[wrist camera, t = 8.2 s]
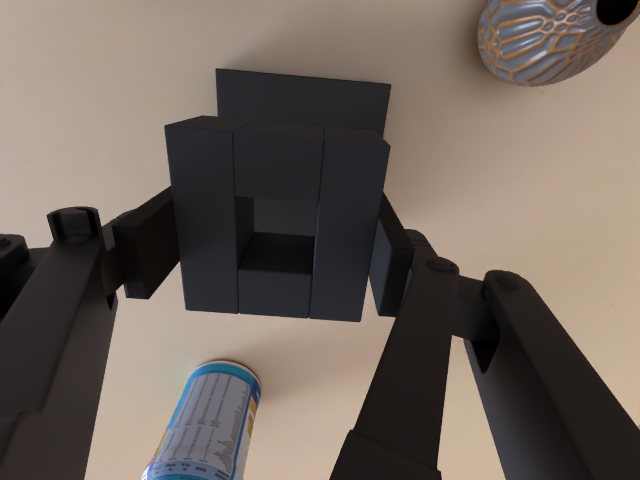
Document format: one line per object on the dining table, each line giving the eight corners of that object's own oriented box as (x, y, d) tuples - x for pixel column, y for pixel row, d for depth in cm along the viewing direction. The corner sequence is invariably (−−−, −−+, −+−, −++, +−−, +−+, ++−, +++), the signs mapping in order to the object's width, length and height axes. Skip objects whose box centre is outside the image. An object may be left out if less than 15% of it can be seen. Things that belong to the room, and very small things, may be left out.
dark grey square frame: (201, 115, 15) (163, 125, 11) (375, 130, 15) (391, 144, 12) (212, 266, 18) (185, 310, 15) (353, 276, 19) (360, 323, 15)
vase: (477, 103, 24) (551, 113, 16) (450, 1, 22) (523, -45, 14) (575, 55, 23) (708, 42, 15) (559, -59, 20) (710, -150, 12)
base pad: (221, 68, 23) (202, 66, 20) (387, 84, 24) (399, 84, 20) (228, 223, 29) (214, 243, 25) (364, 234, 29) (370, 255, 25)
